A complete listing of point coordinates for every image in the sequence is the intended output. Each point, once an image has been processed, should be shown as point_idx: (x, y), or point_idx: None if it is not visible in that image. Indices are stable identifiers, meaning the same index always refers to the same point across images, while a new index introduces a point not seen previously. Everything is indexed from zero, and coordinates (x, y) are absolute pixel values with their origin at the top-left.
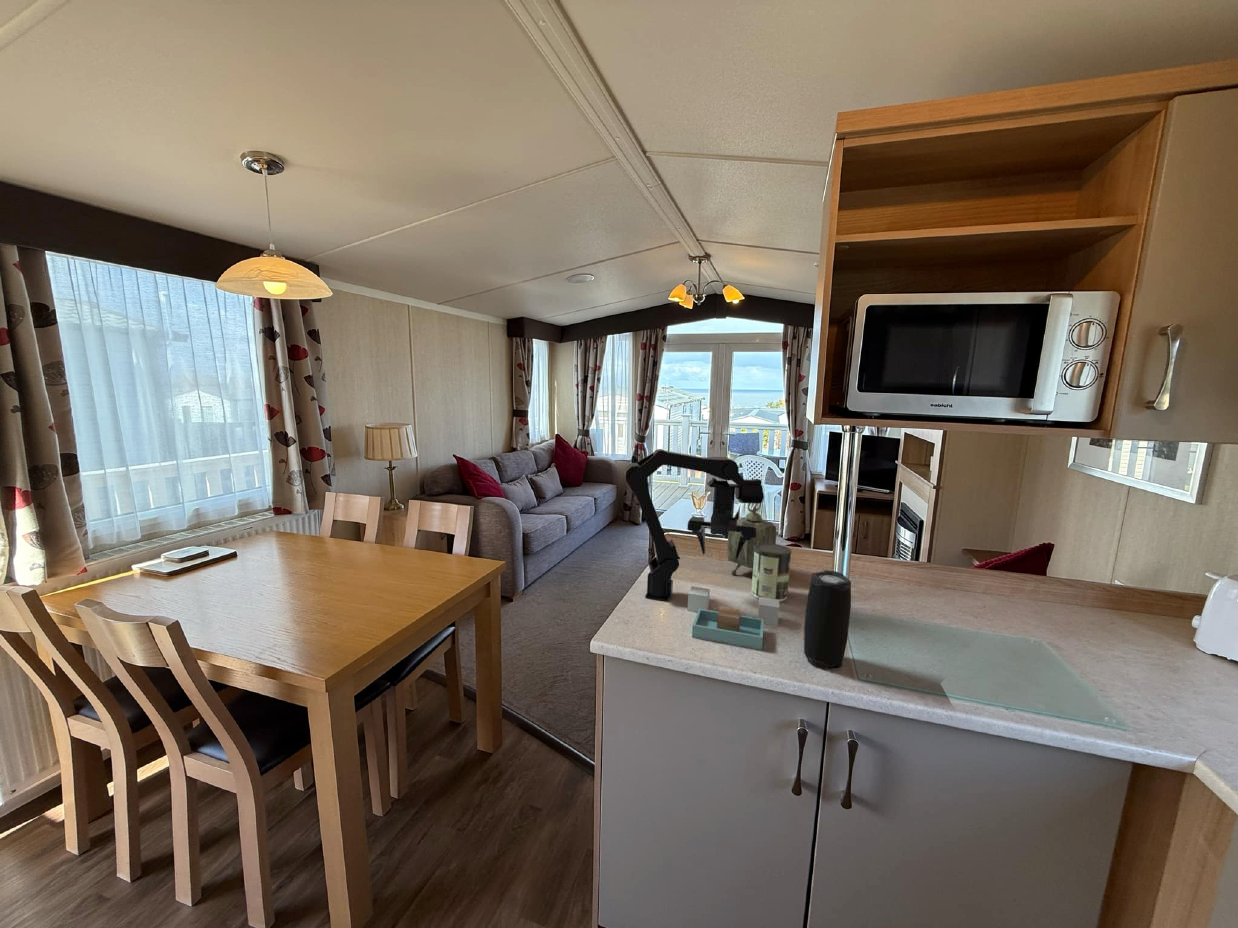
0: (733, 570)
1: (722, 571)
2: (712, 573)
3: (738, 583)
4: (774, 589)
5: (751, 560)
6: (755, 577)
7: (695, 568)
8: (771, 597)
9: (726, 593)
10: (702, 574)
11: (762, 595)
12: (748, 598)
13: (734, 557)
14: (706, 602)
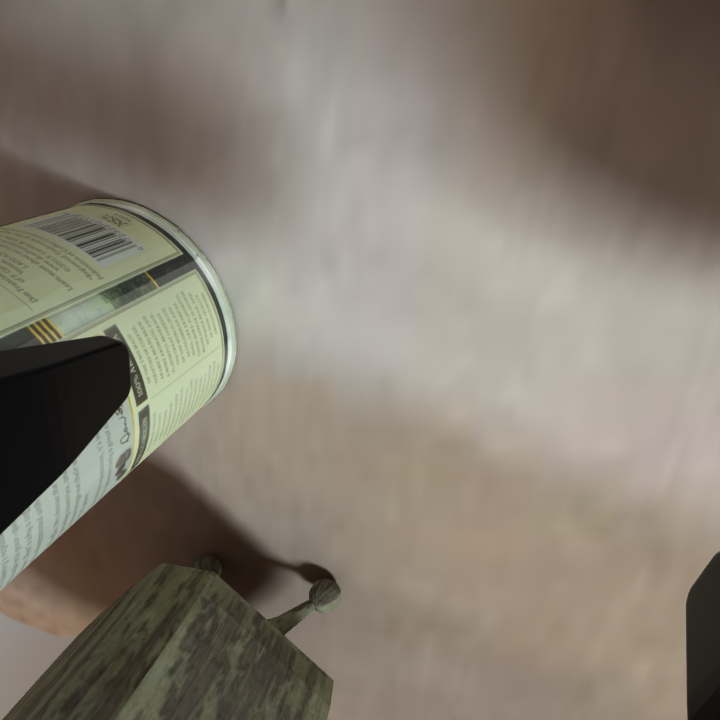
0: (322, 603)
1: (393, 630)
2: (461, 615)
3: (310, 470)
4: (31, 220)
5: (153, 598)
6: (124, 335)
7: (569, 694)
8: (95, 206)
9: (406, 309)
10: (537, 611)
11: (149, 229)
12: (255, 235)
13: (277, 677)
14: None
